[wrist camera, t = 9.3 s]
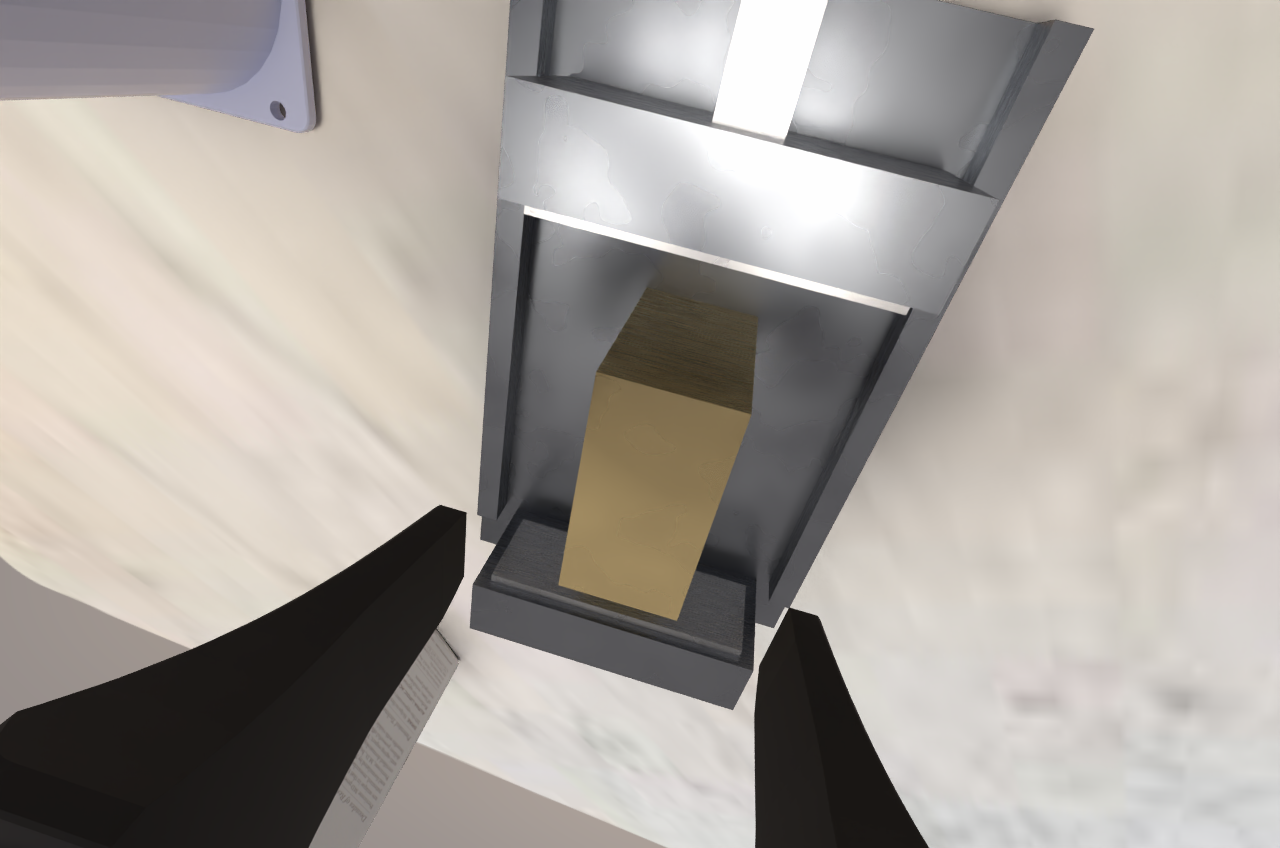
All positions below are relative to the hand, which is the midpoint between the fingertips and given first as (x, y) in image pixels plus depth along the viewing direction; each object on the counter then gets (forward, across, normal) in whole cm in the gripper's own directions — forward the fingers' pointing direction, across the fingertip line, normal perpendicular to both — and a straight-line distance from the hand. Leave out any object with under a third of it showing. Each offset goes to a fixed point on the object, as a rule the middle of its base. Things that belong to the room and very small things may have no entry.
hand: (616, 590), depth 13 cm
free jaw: (+8, 0, -10) cm, 13 cm away
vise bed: (+9, 0, -2) cm, 10 cm away
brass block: (+8, 0, 0) cm, 8 cm away
